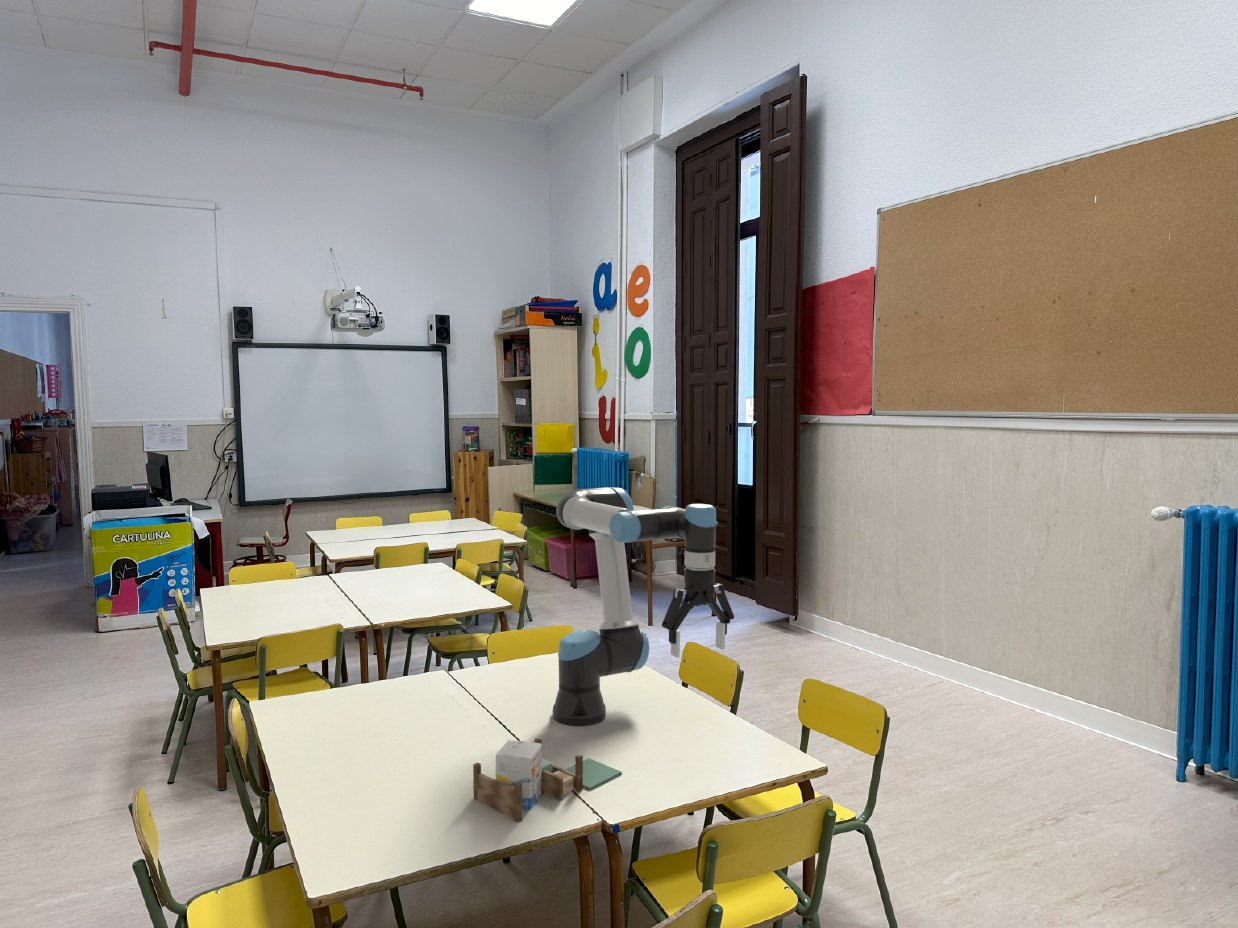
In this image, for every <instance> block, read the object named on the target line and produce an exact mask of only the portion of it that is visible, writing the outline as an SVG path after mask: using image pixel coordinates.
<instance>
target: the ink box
mask: <svg viewBox="0 0 1238 928" xmlns="http://www.w3.org/2000/svg"><path fill="white" fill-rule="evenodd" d="M542 749H543V743H542V744H541V743H535V742H530V741H524V740H523V741H522V740H509V739H508V740H507V741H506V742H505V744H504V745H502V747H500V749H499V750H498V751H497V752H496V753H495V777H494V778H495V779H494V780H496V781H498V782H500V783H503V784H505V785H507V786H509V787H511V788H513V789H514V783H517V782H520V783H522V810H532V809H533V807H534V805H535V804H536V802H537V801H538V798H539V797H540V796H541V793H543V792H542V759H543V756H542V755H543V750H542Z"/></svg>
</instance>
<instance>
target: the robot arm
mask: <svg viewBox="0 0 1238 928" xmlns="http://www.w3.org/2000/svg"><path fill="white" fill-rule="evenodd" d="M555 511H556V517H557V520H558V521H559V522H560V523H561V524H562V525H563V526H565V527H566V528H569V529H572V530H576V531H577V530H583V529H586V530H588V535H589V536H590V537H591V538H592V539H593V540H594V542H595V543H594V545H595V553H596V561H597V570H598V572H597V573H598V581H599V591H600V600H601V610H602V619H603V622H601V623H602V624H600V626H599V627H598V628H599V631H595V630H591V629H590V630H589V629H588V630H577V631H573V632H570V633H567V634H566V635H564V636H562V637H561V639H560V641H559V645H558V653H557V657H558V691H557V694H556V698H555V702H554V704H553V707H552V719H554V721H556V722H558V723H559V724H562V725H566V726H577V727H579V726H580V727H581V726H590V725H595V724H598V723H600V722H602V721H604V720H605V718H606V717H607V707H606V704H605V702H604V697H603V694H602V692H601V685H600V684H601V683H600V682H601V677H607V676H612V675H617V674H623V673H627V674H628V673H631V672H635V671H637V670H640V669H642V668H643V667H644V666H645V665H646V662H648V660H649V655H650V642H649V637H648V636H647V632H645V630H643V629H641V628H640V626H639V622H638V621H636V620H635V619H634V617H633V608H632V600H631V590H630V582H629V572H628V565H627V554H626V546H625V543H633V542H641V541H643V542H644V541H650V540H652V541H653V540H663V539H664V540H665V539H679V540H683V541H684V561H683V562H684V564H683V565H684V566H685V568H684V570H683V571H684V573H683V574H684V576H683V577H684V578H683V581H684V585H685V587H684V589H679V588H674V589H673V591H672V592H673V593H672V598H671V602H670V603H669V606H668V608H667V611H666V613H665V615H664V619H663V620H662V623H661V627H662V628H664V629H666V630H668V642H669V643H670V655H672V656H673V657H674V658H680V656H681V653H680V651H681V631H680V630H679V628H680V626H681V625H682V623H683V621H684V620H685V618H687V616H688V614H689V613H690V611H691V610H692V609H694V607H698V606H699V607H700V606H701V605H703V606H705V605H706V606H708V608H709V609H711V611H712V612H713V614H714V615H715V616H716V617H717V619H718V620H717V621H716V622H715V623H716V624H715V647H716V648H718V649H720V650H725V649H726V647H725V645H726V640H725V639H726V635H727V634H728V625H729V624H730V623H731V620H734V618H735V615H734V612H733V610H732V607H731V605H730V603H729V602H730V601H729V600H728V597H727V595H726V592H725V591H726V589H725V585H724V584H721V583H718V582H716V569H715V568H714V567H715V566H716V545H717V544H716V542H717V523H718V521H717V510H716V507H715V506H713V505H711V504H705V503H692V504H688V505H686V506H685V508H681V507H678V506H669V505H667V506H663V507H661V508H660V509H659V508H658V509H648V510H647V509H646V510H643V509H642V510H635V509H634V504H633V500H632V498H631V497H630V495H629V493H627V491H626V490H625V489H623V488H621V487H610V486H607V487H597V488H596V487H595V488H593V487H592V488H578V489H577V488H576V489H574V490H573V489H572V490H570V491H567V492H566V493H564V494H563V495H562V496H561V497H560V498H559V500H558V502H557V505H556V510H555ZM715 582H716V583H715ZM714 593H715V595H716V598H717V600H718V603H719V605H720V606H719V605H718V604H717V601H716V600H715V598H714V596H713V594H714Z"/></svg>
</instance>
